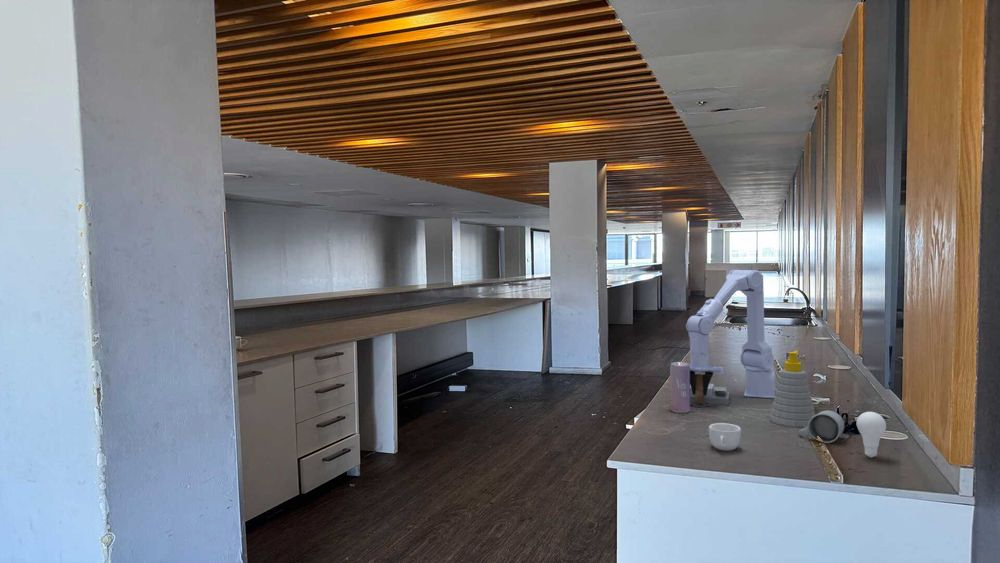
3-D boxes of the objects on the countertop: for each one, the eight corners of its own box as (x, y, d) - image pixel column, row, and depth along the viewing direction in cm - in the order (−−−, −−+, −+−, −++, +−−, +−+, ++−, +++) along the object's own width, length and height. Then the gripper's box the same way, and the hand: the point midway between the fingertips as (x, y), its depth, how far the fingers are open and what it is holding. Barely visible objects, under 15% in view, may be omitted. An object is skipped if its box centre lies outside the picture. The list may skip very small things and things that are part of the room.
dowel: (704, 401, 204) (704, 374, 204) (704, 403, 202) (704, 375, 201) (694, 401, 205) (694, 373, 205) (694, 403, 202) (694, 375, 202)
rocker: (726, 391, 212) (726, 387, 212) (725, 391, 206) (725, 387, 206) (715, 391, 213) (715, 387, 214) (713, 390, 207) (713, 386, 207)
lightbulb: (850, 453, 154) (851, 409, 153) (874, 452, 154) (874, 408, 154) (867, 462, 148) (867, 415, 147) (891, 460, 148) (892, 414, 148)
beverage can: (688, 408, 200) (687, 361, 199) (691, 413, 194) (691, 365, 193) (668, 408, 201) (668, 362, 200) (672, 413, 195) (671, 365, 194)
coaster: (707, 404, 205) (707, 403, 205) (706, 407, 201) (706, 406, 201) (693, 403, 207) (692, 402, 207) (691, 406, 202) (691, 405, 202)
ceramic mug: (845, 437, 167) (845, 409, 166) (840, 445, 160) (839, 415, 160) (802, 432, 173) (801, 404, 173) (795, 439, 167) (794, 410, 166)
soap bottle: (822, 420, 183) (822, 351, 182) (808, 430, 174) (809, 357, 173) (778, 413, 192) (778, 347, 191) (763, 422, 183) (763, 353, 182)
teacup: (711, 442, 165) (711, 421, 165) (742, 445, 162) (742, 424, 162) (705, 453, 157) (705, 431, 156) (738, 457, 153) (737, 435, 153)
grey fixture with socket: (729, 397, 214) (729, 384, 213) (728, 405, 204) (728, 391, 203) (690, 394, 219) (690, 381, 219) (686, 402, 209) (686, 388, 208)
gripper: (674, 353, 202) (674, 395, 203) (722, 355, 196) (722, 398, 197) (677, 350, 208) (677, 390, 209) (723, 352, 203) (723, 394, 203)
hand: (699, 394), depth 203 cm, fingers closed on dowel, 3 cm apart
